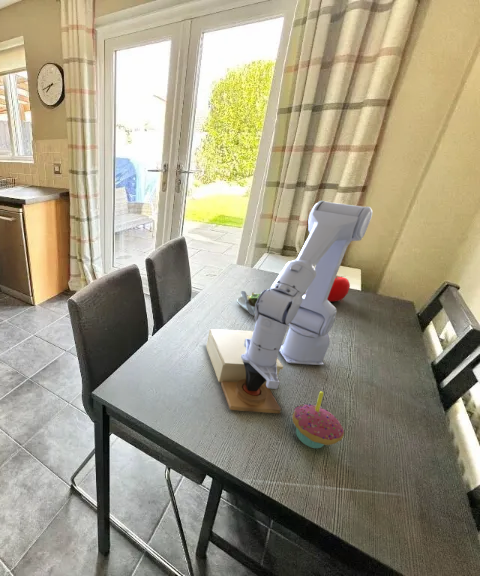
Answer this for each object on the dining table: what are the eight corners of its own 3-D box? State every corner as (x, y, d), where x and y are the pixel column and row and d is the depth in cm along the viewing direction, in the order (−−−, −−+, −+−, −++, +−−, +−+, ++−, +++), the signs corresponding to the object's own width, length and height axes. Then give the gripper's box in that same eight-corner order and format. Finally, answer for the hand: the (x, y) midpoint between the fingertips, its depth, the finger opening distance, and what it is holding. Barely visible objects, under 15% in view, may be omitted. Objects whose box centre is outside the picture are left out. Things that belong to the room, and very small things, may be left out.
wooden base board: (265, 387, 76) (269, 378, 75) (279, 413, 69) (283, 404, 68) (220, 384, 77) (222, 375, 76) (229, 409, 70) (232, 400, 69)
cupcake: (278, 422, 67) (294, 381, 62) (314, 419, 68) (333, 378, 62) (305, 459, 59) (326, 416, 54) (346, 456, 60) (370, 412, 55)
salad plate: (222, 297, 119) (224, 286, 117) (262, 292, 122) (265, 282, 120) (256, 324, 102) (259, 312, 100) (301, 317, 105) (305, 306, 103)
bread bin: (274, 386, 77) (280, 368, 74) (218, 382, 78) (222, 364, 75) (253, 350, 90) (258, 333, 87) (206, 347, 91) (209, 331, 88)
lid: (282, 369, 73) (283, 366, 73) (224, 365, 74) (224, 363, 74) (258, 333, 87) (258, 331, 87) (209, 330, 88) (209, 328, 88)
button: (255, 389, 74) (256, 383, 73) (260, 400, 71) (262, 395, 70) (239, 388, 74) (241, 382, 74) (244, 399, 71) (246, 394, 70)
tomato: (352, 305, 113) (363, 280, 108) (318, 305, 113) (327, 280, 108) (332, 291, 123) (341, 268, 118) (300, 291, 123) (308, 268, 118)
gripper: (236, 322, 73) (225, 366, 79) (259, 363, 60) (244, 412, 66) (267, 324, 72) (253, 368, 78) (297, 365, 59) (278, 415, 65)
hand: (251, 388), depth 72 cm, fingers closed, pressing on button
